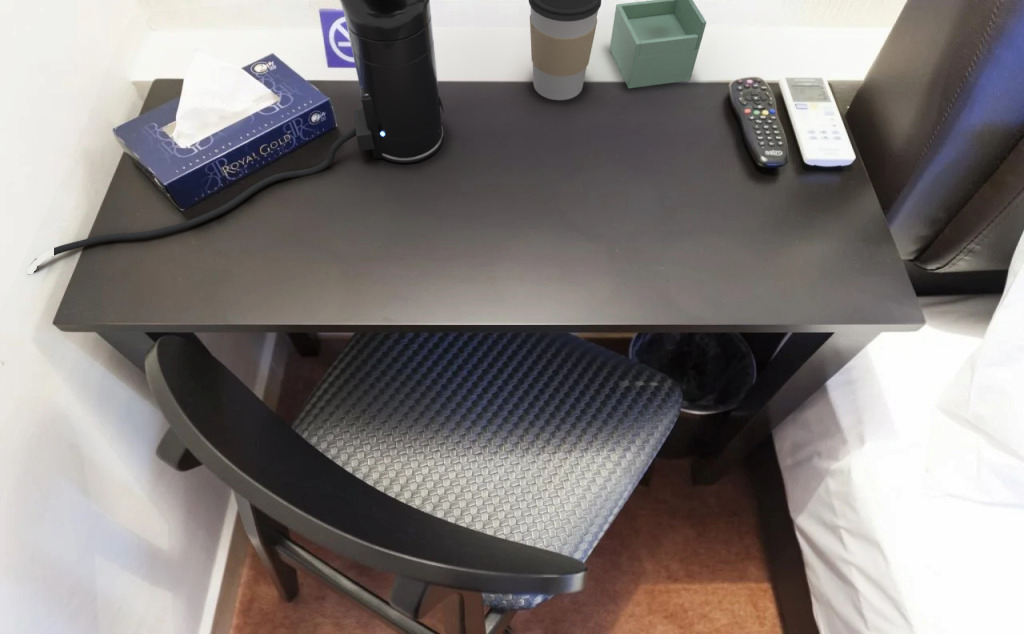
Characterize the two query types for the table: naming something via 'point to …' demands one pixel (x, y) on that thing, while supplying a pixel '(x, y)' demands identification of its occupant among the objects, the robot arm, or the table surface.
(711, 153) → the table surface
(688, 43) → the mint green open box
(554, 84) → the coffee cup
